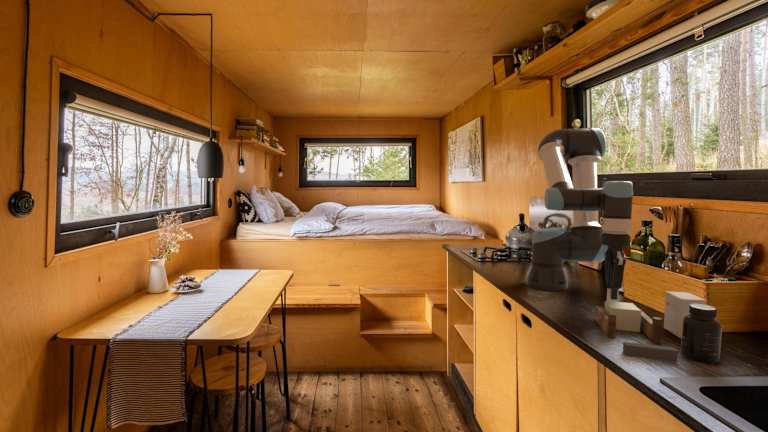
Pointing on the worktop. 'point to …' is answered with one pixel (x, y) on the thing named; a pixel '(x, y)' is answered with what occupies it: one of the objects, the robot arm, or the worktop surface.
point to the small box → (678, 310)
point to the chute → (647, 324)
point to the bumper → (650, 351)
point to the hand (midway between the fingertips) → (612, 308)
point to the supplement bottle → (701, 334)
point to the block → (625, 315)
